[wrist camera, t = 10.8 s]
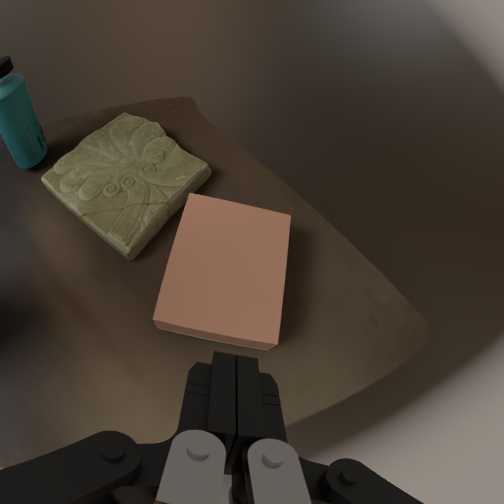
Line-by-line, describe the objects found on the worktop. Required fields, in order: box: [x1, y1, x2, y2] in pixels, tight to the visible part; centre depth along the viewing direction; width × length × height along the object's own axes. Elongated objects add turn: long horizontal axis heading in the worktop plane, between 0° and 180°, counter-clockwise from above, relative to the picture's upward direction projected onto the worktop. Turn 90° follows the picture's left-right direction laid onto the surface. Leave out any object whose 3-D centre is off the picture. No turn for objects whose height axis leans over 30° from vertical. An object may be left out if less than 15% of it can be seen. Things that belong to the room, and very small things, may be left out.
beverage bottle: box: [0, 56, 48, 169], centre depth 28 cm, size 6×7×20 cm
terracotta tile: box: [153, 193, 291, 350], centre depth 32 cm, size 4×12×15 cm
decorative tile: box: [41, 113, 212, 261], centre depth 37 cm, size 19×20×4 cm
